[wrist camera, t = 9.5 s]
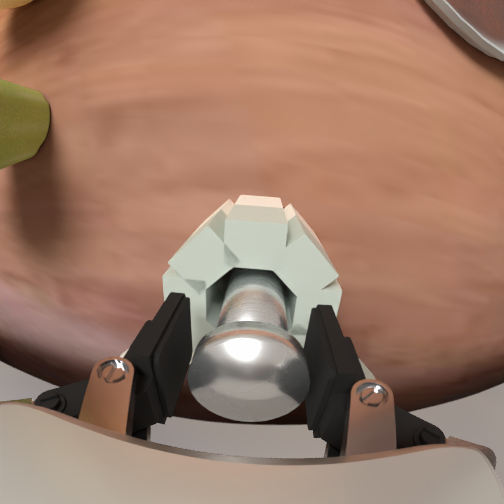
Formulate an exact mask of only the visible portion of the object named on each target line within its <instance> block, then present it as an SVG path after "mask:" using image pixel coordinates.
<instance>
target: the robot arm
mask: <svg viewBox="0 0 504 504" xmlns="http://www.w3.org/2000/svg"><path fill="white" fill-rule="evenodd" d="M303 349H304V352H305V355H306V360H307V366H308V371H309V377H310V387H309V391H308V394H307V396H306V397H305V407H306V415H307V425H308V429H309V430H313V435H314V438H321V439H323V440H324V441H326V442H327V444H326V449H325V454H324V458H304V459H282V458H280V459H279V458H253V457H241V456H231V455H222V454H213V453H206V452H200V451H194V450H188V449H182V448H177V447H172V446H167V445H162V444H158V443H154V442H150V435H151V427H150V426H151V425H154V424H156V423H161V424H165V421H166V418H167V417H170V418H171V417H172V415H173V412H174V409H175V406H176V403H177V400H178V397H179V394H180V391H181V388H182V385H183V382H184V379H185V376H186V373H187V370H188V367H189V364H190V361H191V358H192V353H193V347H192V330H191V310H190V298H189V297H186V296H185V293H177V292H170V294H169V295H168V297H167V298H166V300H165V301H164V303H163V305H162V306H161V308H160V309H159V311H158V312H157V314H156V316H155V317H154V319H153V320H152V321H151V320H148V321H147V322H146V323H145V324H144V326H143V327H142V329H141V330H140V332H139V334H138V335H137V337H136V338H135V340H134V341H133V343H132V344H131V346H130V348H129V349H128V351H127V352H126V354H125V356H124V357H123V358H121V357H108V358H105V359H103V360H101V361H99V362H98V363H97V364H96V365H95V366H94V368H93V370H92V373H91V376H90V378H89V379H86V380H83V381H80V382H76V383H73V384H69V385H66V386H62V387H59V388H56V389H52V390H48V391H46V392H43V393H42V394H41V395H39V396H38V397H37V399H36V400H35V401H33V399H32V398H29V399H21V400H11V401H1V402H0V504H504V489H503V487H502V484H501V482H500V480H499V478H498V476H497V474H496V472H495V466H496V456H495V454H494V452H493V451H492V450H491V449H490V448H488V447H485V446H482V445H478V444H474V443H471V442H467V441H464V440H461V439H457V438H454V437H451V436H449V437H448V439H446V438H445V436H444V434H443V432H442V431H441V430H440V429H439V428H438V427H436V426H435V425H432V424H430V423H428V422H426V421H424V420H422V419H420V418H418V417H416V416H414V415H412V414H410V413H408V412H406V411H405V410H403V409H401V408H399V407H397V406H395V405H394V398H393V393H392V391H391V389H390V388H389V387H388V386H387V385H386V384H384V383H382V382H380V381H378V380H374V379H366V377H365V374H364V372H363V369H362V366H361V364H360V361H359V358H358V356H357V353H356V351H355V348H354V346H353V343H352V340H351V339H350V337H344V336H343V334H342V331H341V328H340V326H339V323H338V320H337V318H336V315H335V312H334V310H333V307H332V305H322V304H318V305H317V307H316V308H312V309H311V314H310V319H309V324H308V329H307V334H306V339H305V344H304V348H303Z"/></svg>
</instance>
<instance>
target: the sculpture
mask: <svg viewBox="0 0 504 504" xmlns="http://www.w3.org/2000/svg"><path fill="white" fill-rule="evenodd" d="M31 1H33V0H0V9H11V8H16V7H20V6H23V5H26V4H28V3H30V2H31Z"/></svg>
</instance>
